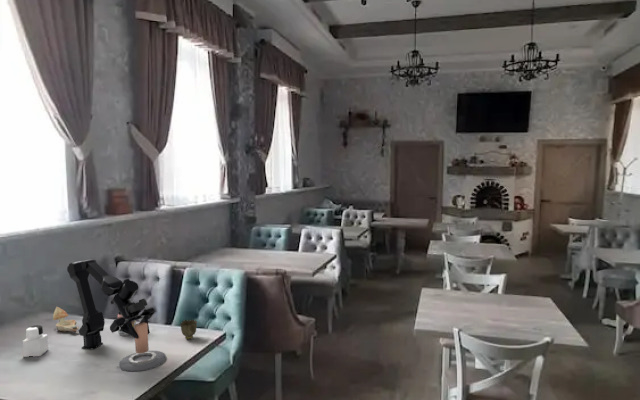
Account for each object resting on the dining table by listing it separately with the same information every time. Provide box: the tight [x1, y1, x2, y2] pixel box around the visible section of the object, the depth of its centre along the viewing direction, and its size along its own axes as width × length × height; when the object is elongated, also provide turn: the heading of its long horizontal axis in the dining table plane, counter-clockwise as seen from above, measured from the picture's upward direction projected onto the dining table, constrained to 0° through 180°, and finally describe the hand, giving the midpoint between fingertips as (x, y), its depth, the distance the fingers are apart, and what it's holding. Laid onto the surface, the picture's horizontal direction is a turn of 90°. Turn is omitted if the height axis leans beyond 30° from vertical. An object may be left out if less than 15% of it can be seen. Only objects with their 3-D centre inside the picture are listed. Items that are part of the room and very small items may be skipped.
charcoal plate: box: [118, 350, 167, 373], centre depth 184 cm, size 18×18×1 cm
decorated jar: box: [117, 313, 137, 337], centre depth 216 cm, size 9×8×12 cm
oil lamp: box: [52, 306, 80, 333], centre depth 222 cm, size 9×21×10 cm, turn 51°
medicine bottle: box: [21, 324, 49, 358], centre depth 194 cm, size 7×7×12 cm
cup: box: [179, 319, 198, 341], centre depth 207 cm, size 8×7×8 cm
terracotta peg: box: [134, 322, 150, 353], centre depth 183 cm, size 5×5×11 cm
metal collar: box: [129, 352, 156, 366], centre depth 184 cm, size 11×11×1 cm
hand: (143, 335), depth 182 cm, fingers closed on terracotta peg, 5 cm apart
